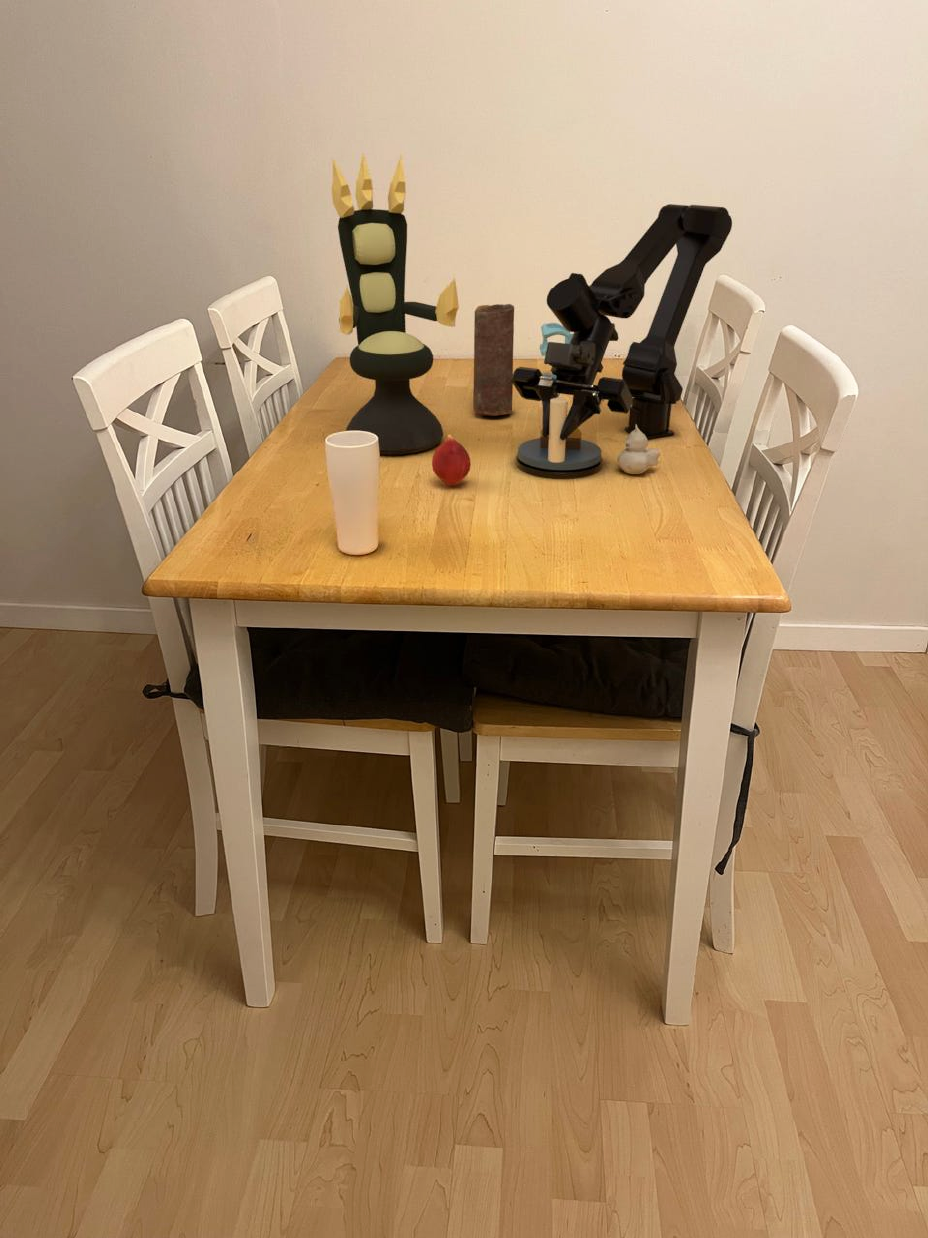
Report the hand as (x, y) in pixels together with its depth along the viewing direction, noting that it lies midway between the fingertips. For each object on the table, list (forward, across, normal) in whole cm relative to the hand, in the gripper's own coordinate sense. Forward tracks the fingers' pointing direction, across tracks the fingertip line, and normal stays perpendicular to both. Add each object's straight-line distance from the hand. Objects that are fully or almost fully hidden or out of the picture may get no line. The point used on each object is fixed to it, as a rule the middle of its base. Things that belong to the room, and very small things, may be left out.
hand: (552, 437), depth 147 cm
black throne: (+2, -33, +6) cm, 34 cm away
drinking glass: (+31, -9, -22) cm, 39 cm away
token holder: (-1, -2, +8) cm, 9 cm away
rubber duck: (-2, +10, +11) cm, 16 cm away
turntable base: (0, -2, +9) cm, 9 cm away
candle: (-13, -25, +22) cm, 36 cm away
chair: (-32, -26, +42) cm, 59 cm away
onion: (+12, -12, -4) cm, 17 cm away
